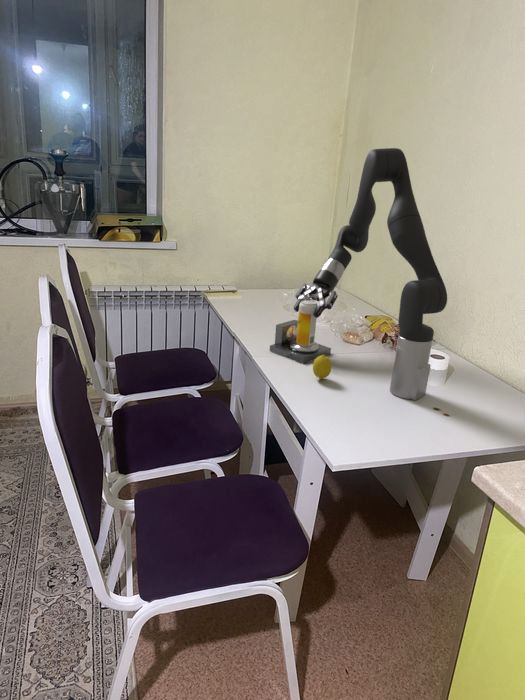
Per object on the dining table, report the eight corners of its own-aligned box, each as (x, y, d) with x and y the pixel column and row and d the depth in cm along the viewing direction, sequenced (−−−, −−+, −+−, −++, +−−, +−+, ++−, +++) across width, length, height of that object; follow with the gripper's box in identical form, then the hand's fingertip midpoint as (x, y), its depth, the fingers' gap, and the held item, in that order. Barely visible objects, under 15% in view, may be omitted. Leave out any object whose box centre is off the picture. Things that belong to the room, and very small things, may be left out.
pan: (324, 348, 169) (324, 345, 169) (306, 354, 162) (306, 351, 162) (302, 340, 176) (302, 337, 175) (283, 346, 169) (283, 343, 168)
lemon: (329, 384, 147) (332, 359, 144) (310, 381, 148) (313, 356, 145) (330, 377, 152) (333, 352, 149) (312, 374, 153) (315, 350, 150)
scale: (330, 353, 171) (333, 328, 168) (303, 363, 161) (305, 337, 158) (297, 341, 181) (299, 318, 177) (269, 350, 170) (271, 326, 167)
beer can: (302, 340, 173) (306, 298, 167) (317, 344, 169) (321, 302, 164) (292, 344, 168) (296, 301, 163) (307, 348, 165) (311, 305, 159)
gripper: (308, 265, 170) (284, 302, 166) (342, 272, 161) (318, 312, 157) (316, 278, 175) (293, 314, 171) (350, 286, 166) (326, 324, 162)
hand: (305, 313), depth 164 cm, fingers open, 8 cm apart
